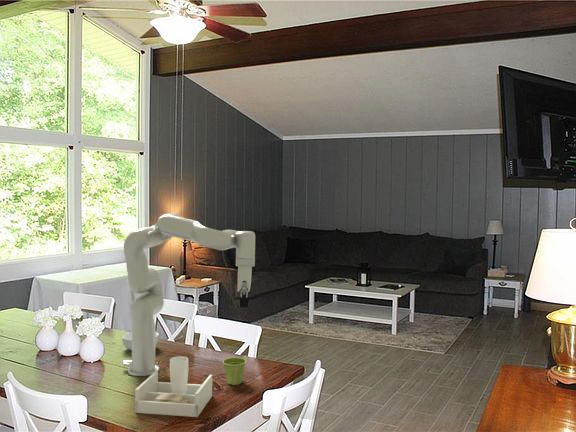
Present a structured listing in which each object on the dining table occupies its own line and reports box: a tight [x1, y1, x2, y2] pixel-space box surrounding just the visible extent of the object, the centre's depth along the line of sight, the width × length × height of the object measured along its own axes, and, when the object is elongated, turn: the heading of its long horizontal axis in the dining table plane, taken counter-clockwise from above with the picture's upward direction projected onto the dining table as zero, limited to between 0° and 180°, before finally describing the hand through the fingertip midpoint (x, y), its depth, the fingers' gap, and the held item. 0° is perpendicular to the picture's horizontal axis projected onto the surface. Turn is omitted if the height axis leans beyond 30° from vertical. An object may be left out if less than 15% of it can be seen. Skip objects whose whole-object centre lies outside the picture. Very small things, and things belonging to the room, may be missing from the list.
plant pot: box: [222, 357, 247, 386], centre depth 218 cm, size 9×9×9 cm
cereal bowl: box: [121, 331, 160, 351], centre depth 259 cm, size 17×17×7 cm
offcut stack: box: [155, 393, 188, 404], centre depth 191 cm, size 12×5×5 cm, turn 83°
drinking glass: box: [169, 355, 189, 394], centre depth 199 cm, size 7×7×15 cm
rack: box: [134, 371, 213, 418], centre depth 196 cm, size 22×19×8 cm
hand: (244, 304), depth 220 cm, fingers open, 9 cm apart
